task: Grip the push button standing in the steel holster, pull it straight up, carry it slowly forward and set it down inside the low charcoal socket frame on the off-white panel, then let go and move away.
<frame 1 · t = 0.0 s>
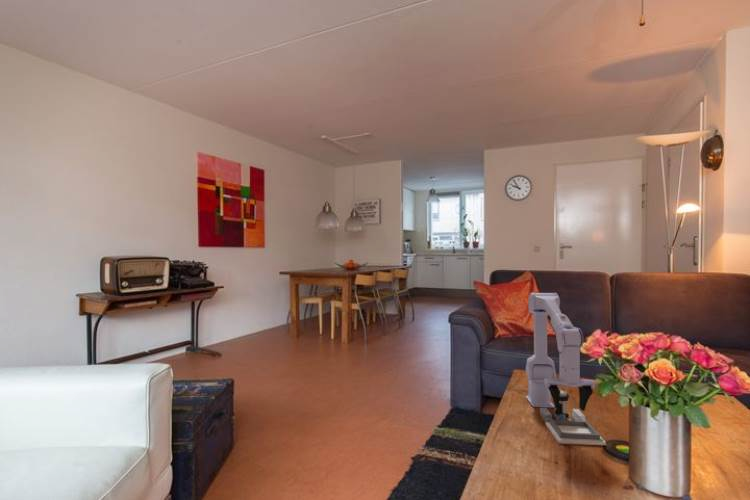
hand: (569, 409, 121), 10 cm above the table, tool pointing down, fingers open, 7 cm apart
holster: (562, 420, 135), on the table
push button: (562, 420, 135), on the table
port dock: (574, 434, 125), on the table
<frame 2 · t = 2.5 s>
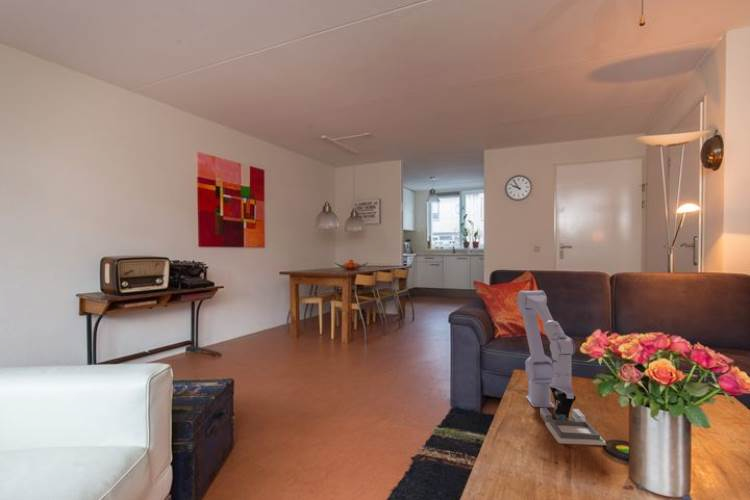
hand: (562, 410, 135), 3 cm above the table, tool pointing down, fingers closed on push button, 5 cm apart
push button: (562, 420, 135), on the table, touching gripper
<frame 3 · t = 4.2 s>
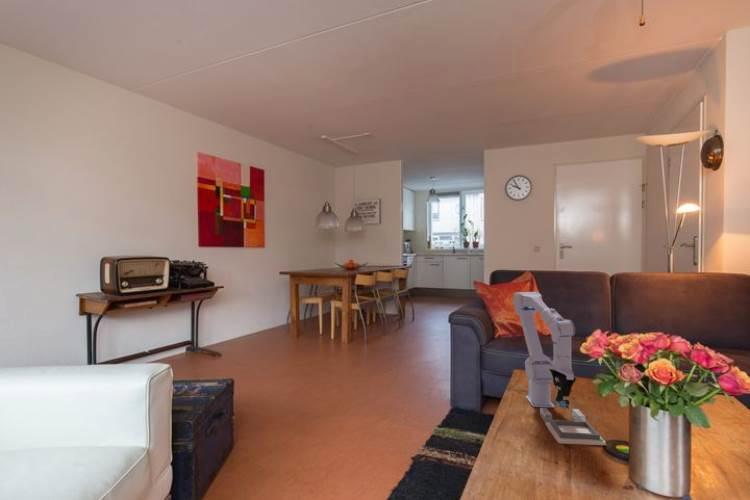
hand: (562, 392, 135), 10 cm above the table, tool pointing down, fingers closed on push button, 5 cm apart
push button: (562, 407, 134), point 5 cm above the table, touching gripper
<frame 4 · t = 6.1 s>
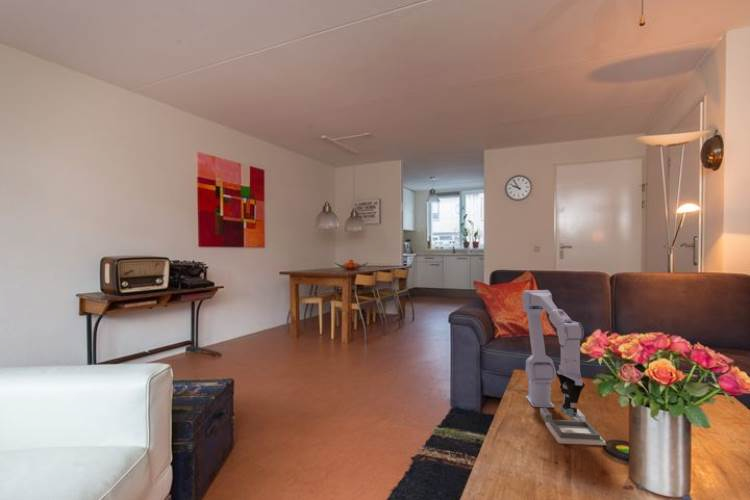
hand: (570, 399, 128), 10 cm above the table, tool pointing down, fingers closed on push button, 5 cm apart
push button: (570, 415, 128), point 5 cm above the table, touching gripper
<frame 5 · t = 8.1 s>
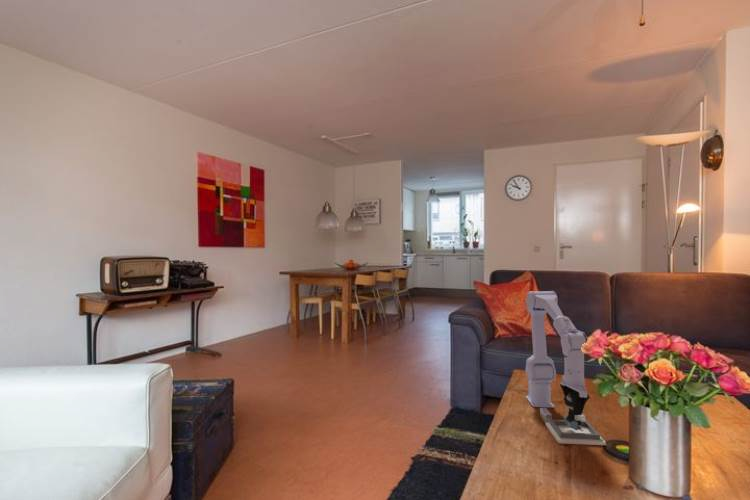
hand: (574, 410, 125), 8 cm above the table, tool pointing down, fingers closed on push button, 5 cm apart
push button: (574, 428, 124), point 2 cm above the table, touching gripper
when the fingers open (5 cm above the table, at t = 10.0 s): push button stays where it is, resting on port dock.
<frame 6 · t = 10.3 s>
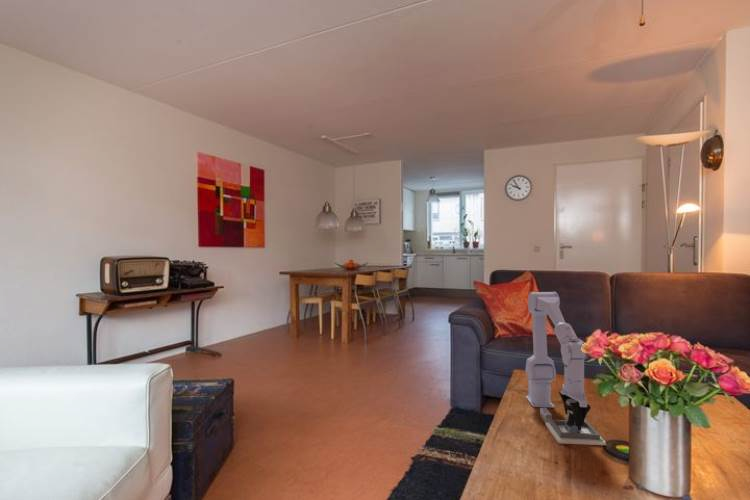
hand: (574, 419, 125), 5 cm above the table, tool pointing down, fingers open, 7 cm apart
push button: (574, 432, 124), point 1 cm above the table, touching port dock
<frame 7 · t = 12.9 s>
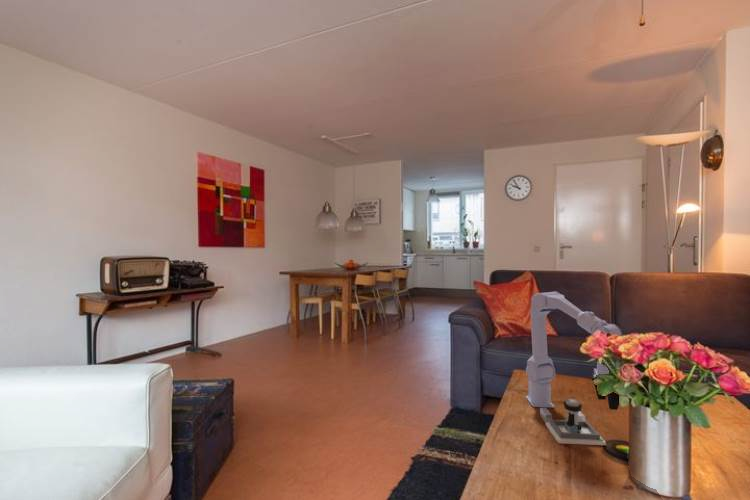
hand: (607, 404, 123), 10 cm above the table, tool pointing down, fingers open, 7 cm apart
nothing on the table moved.
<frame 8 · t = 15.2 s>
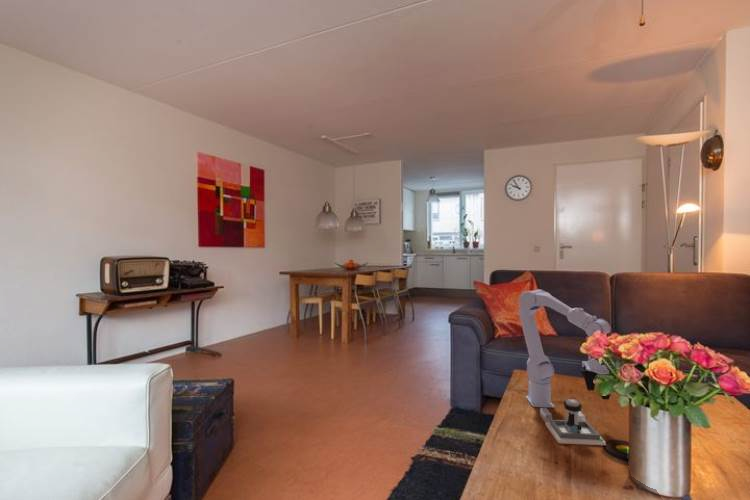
hand: (597, 394, 131), 10 cm above the table, tool pointing down, fingers open, 7 cm apart
nothing on the table moved.
at the end: push button 0.5 cm off-centre on the port dock, point 0.8 cm above the port dock's base; push button tilted 0°; the gripper is holding nothing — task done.
